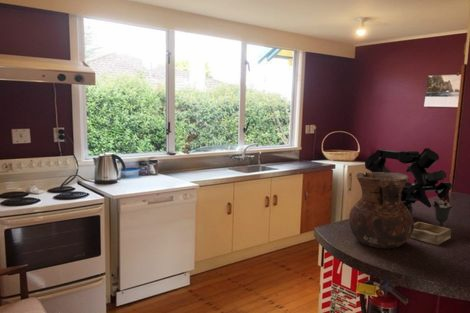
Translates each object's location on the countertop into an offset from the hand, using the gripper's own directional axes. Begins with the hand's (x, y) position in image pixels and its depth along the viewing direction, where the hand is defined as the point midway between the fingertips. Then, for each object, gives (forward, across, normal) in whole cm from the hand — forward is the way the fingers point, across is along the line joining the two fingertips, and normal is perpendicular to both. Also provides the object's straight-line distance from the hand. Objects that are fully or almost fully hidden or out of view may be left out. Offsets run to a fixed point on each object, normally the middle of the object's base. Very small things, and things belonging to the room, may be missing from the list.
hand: (439, 206), depth 146 cm
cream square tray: (+11, -11, +2) cm, 16 cm away
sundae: (+8, 0, +6) cm, 10 cm away
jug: (+12, -33, +2) cm, 35 cm away
